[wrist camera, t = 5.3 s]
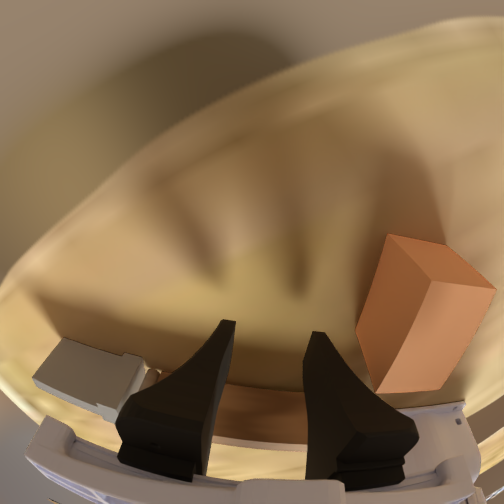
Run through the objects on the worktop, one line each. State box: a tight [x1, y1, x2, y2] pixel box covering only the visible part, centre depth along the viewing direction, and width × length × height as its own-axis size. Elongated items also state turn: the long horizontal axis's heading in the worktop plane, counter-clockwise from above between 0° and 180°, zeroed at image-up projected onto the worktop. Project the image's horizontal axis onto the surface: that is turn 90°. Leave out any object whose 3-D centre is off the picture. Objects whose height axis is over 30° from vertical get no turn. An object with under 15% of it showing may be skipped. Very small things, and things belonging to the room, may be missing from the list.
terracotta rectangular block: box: [355, 233, 497, 394], centre depth 12 cm, size 4×6×5 cm, turn 173°
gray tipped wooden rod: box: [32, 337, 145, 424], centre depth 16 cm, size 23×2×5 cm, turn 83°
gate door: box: [138, 369, 308, 452], centre depth 16 cm, size 14×1×4 cm, turn 83°
